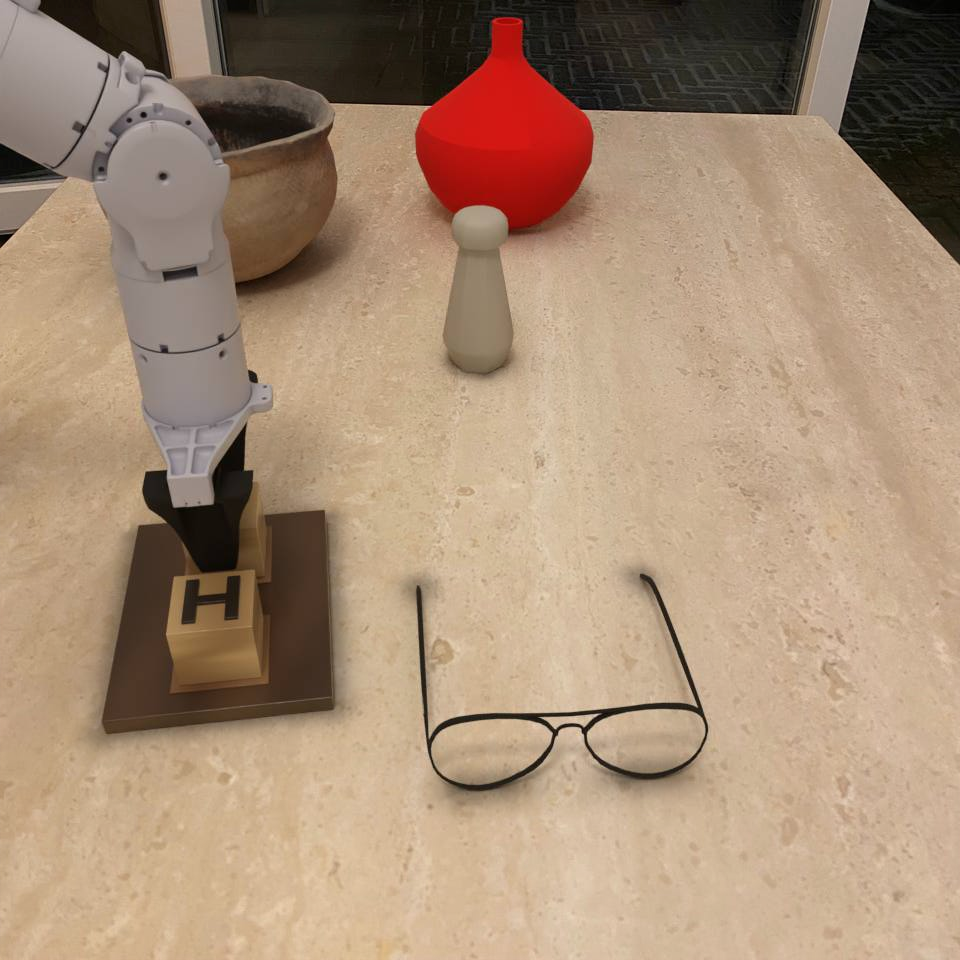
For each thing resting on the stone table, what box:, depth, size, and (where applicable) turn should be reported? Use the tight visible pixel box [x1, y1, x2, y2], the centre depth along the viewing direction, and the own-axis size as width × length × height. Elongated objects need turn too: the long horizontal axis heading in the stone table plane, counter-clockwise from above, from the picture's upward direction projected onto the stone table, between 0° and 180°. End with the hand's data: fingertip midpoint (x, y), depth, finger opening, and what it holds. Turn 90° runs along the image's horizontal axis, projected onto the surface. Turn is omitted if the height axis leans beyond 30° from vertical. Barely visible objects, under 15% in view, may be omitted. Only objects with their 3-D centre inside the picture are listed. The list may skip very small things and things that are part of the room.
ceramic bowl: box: [92, 73, 339, 284], centre depth 92 cm, size 22×22×15 cm
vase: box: [414, 16, 595, 231], centre depth 101 cm, size 18×18×19 cm
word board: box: [101, 509, 334, 734], centre depth 59 cm, size 12×16×1 cm
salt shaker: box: [442, 205, 515, 375], centre depth 79 cm, size 6×6×13 cm
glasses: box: [415, 573, 709, 791], centre depth 56 cm, size 14×15×5 cm
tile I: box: [182, 481, 267, 577], centre depth 61 cm, size 4×4×4 cm
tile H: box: [166, 570, 264, 685], centre depth 55 cm, size 4×4×4 cm
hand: (222, 524), depth 61 cm, fingers open, 7 cm apart
